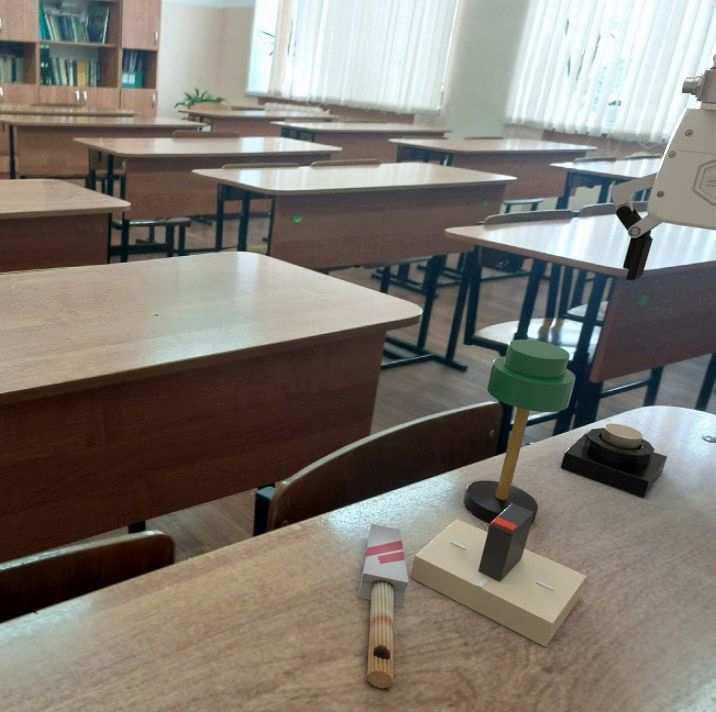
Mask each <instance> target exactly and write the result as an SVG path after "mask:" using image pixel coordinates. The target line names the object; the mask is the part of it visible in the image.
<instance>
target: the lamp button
mask: <svg viewBox="0 0 716 712" xmlns="http://www.w3.org/2000/svg"><path fill="white" fill-rule="evenodd" d="M603 428H604V429H603V433H602V436H601V441H603V442H605V443H607V444H608V445H610V446H614V447H617V448H620V449H625V450H638V449H639V446H640V443H641V440H642V439H643V433H642V432H641V431H640V430H638V429H636V428H634V427H631V426H629V425H625V424H620V423H607V424H605V425H604V426H603Z"/></svg>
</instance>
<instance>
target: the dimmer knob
mask: <svg viewBox="0 0 716 712" xmlns="http://www.w3.org/2000/svg"><path fill="white" fill-rule="evenodd" d="M533 514H534V512H532V511H529V510H527V509H524V508H522V507H519V506H517V505H514V504H511V505H510V506H508V507H507V508H506V509H505V510H504V511H503V512H502V513H501V514H500V515H499V516H498V517H497V518H496V519H495V520H494V521H492V522H491V523H489V527H488V529H487V532H488V533H487V537H486V541H485V545H484V549H483V553H482V557H481V562H480V566H479V570H478V571H479V572H481V573H483V574H485V575H487V576H489V577H491V578H494V579H496V580H498V581H501V580H502V579H503V578H504V577H505V576H506V575H507V574H508V573H509V572H510V571H511V569H512V568H513V567H514V566H515V565H516V564H517V563H518V562H519V561H520V560H521V558H522V555H523V551H524V549H526V548H525V547H526V544H527V540H528V536H529V532H530V529H531V526H532V524H531V522H532V518H533Z"/></svg>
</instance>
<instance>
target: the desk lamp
mask: <svg viewBox="0 0 716 712" xmlns="http://www.w3.org/2000/svg"><path fill="white" fill-rule="evenodd" d="M570 356H571V355H570V352H569V351H568V350H566V349H565V348H562V347H560V346H558V345H556V344H552V343H549V342H544V341H541V340H534V339H515V340H514V339H513V340H511V341H509V342H508V344H507V348H506V352H505V355H503V356H500V357H496V358H494V360H493V362H492V366H491V370H490V375H489V379H488V384H487V387H486V388H487V393H488V394H489V395H490V396H492V397H493V398H494V399H496V400H497V401H499V402H502V403H503V404H506V405H508V406H511V407H515V408H516V412H515V416H514V419H513V424H512V427H511V432H510V436H509V440H508V443H507V444H508V445H507V448H506V451H505V457H504V459H503V460H504V461H503V465H502V468H501V472H500V477H499V480H498V481H496V480H487V479H486V480H484V479H483V480H476V481H473V482H470V483H469V484H468V485H467V486H466V488H465V493H464V497H463V504H464V506H465V508H466V510H467V511H468V512H469V513H470V514H472V515H473V516H475V518H478V519H479V520H482V521H484V522H485V523H488V524H490V523H491V522H492V521H494V520H495V519H496V518H497V517H498V516H499V515H500V514H501V513H502V512H503V511H504V510H505V509H506V508H507V507H508V506H510V505H511V504H514V505H517V506H519V507H522V508H524V509H527V510H529V511H532V512H534V514H533V518H532V522H531V525H532V524H534V522H535V520H536V516H537V513H538V509H539V505H538V503H537V501H536V499H535V498H534V497H533V496H532V495H531V494H529V493H528V492H527V491H525V490H524V489H522V488H519V487H517V486H515V485H512V483H513V479H514V475H515V471H516V467H517V463H518V460H519V455H520V452H521V449H522V443H523V440H524V436H525V432H526V428H527V425H528V420H529V417H530V412H531V411H532V412H539V413H558V412H562V411H565V410H566V409H567V408H568V407H569V404H570V400H571V397H572V394H573V390H574V386H575V382H576V380H577V379H576V375H575V374H574V373H573V372H572V371H571V370H570V369H568V368H567V367H568V365H569V361H570V358H571V357H570Z"/></svg>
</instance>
